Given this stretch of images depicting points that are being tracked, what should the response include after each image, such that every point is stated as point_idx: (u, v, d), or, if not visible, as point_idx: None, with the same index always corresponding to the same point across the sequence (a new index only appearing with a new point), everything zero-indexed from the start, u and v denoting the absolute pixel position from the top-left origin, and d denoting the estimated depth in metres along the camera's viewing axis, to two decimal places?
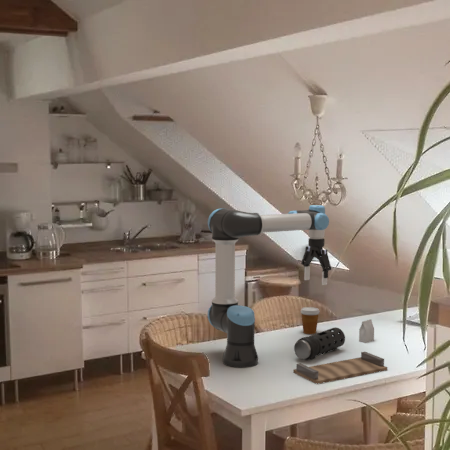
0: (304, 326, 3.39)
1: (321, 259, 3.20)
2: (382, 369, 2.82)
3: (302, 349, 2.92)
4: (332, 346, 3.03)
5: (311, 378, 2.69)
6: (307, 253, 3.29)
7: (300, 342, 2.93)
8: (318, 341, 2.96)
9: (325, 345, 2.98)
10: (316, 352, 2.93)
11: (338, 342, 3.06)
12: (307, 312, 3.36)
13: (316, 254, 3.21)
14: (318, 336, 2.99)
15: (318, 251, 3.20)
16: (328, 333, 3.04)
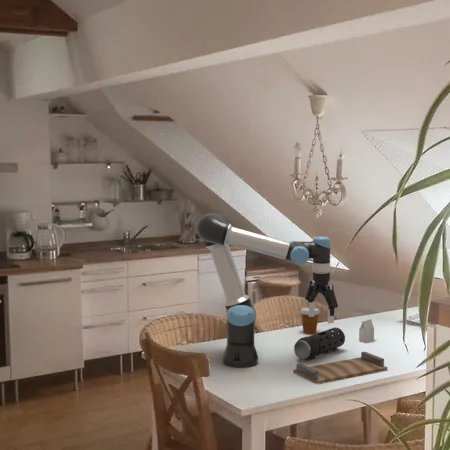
0: (304, 326, 3.39)
1: (327, 295, 2.96)
2: (382, 369, 2.82)
3: (302, 349, 2.92)
4: (332, 346, 3.03)
5: (311, 378, 2.69)
6: (311, 288, 3.06)
7: (300, 342, 2.93)
8: (318, 341, 2.96)
9: (325, 345, 2.98)
10: (316, 352, 2.93)
11: (338, 342, 3.06)
12: (307, 312, 3.36)
13: (321, 290, 2.97)
14: (318, 336, 2.99)
15: (323, 286, 2.97)
16: (328, 333, 3.04)
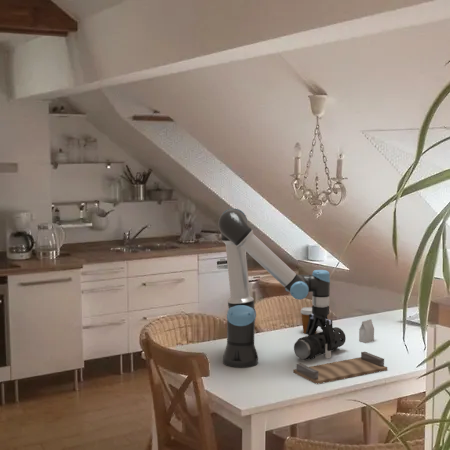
0: (304, 326, 3.39)
1: (325, 329, 2.98)
2: (382, 369, 2.82)
3: (302, 349, 2.92)
4: (332, 346, 3.03)
5: (311, 378, 2.69)
6: (311, 321, 3.07)
7: (300, 342, 2.93)
8: (318, 341, 2.96)
9: None
10: (316, 352, 2.93)
11: (338, 342, 3.06)
12: (307, 312, 3.36)
13: (320, 323, 2.99)
14: (318, 336, 2.99)
15: (322, 320, 2.99)
16: None
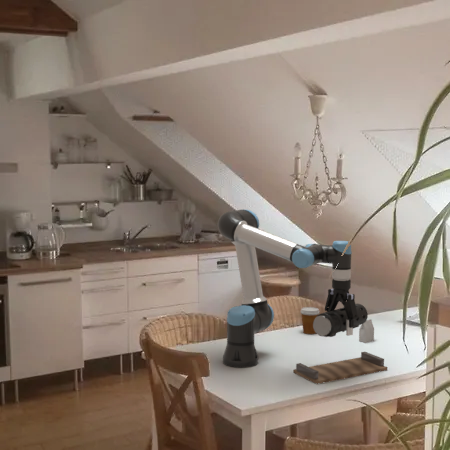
0: (304, 326, 3.39)
1: (346, 305, 2.76)
2: (382, 369, 2.82)
3: (322, 325, 2.70)
4: (354, 323, 2.81)
5: (311, 378, 2.69)
6: (330, 297, 2.85)
7: (319, 318, 2.71)
8: (339, 317, 2.74)
9: (346, 321, 2.76)
10: (337, 328, 2.71)
11: (360, 319, 2.84)
12: (307, 312, 3.36)
13: (341, 298, 2.77)
14: (339, 312, 2.77)
15: (344, 294, 2.77)
16: None
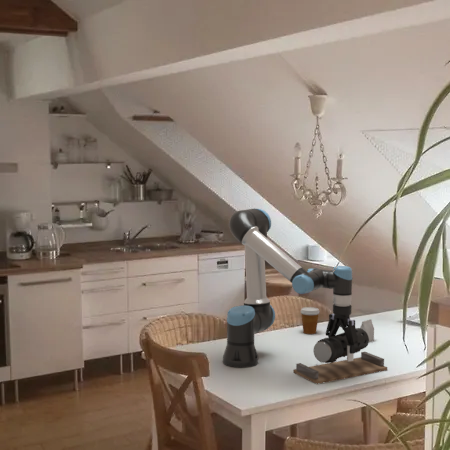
0: (304, 326, 3.39)
1: (347, 330, 2.76)
2: (382, 369, 2.82)
3: (322, 352, 2.70)
4: (355, 348, 2.80)
5: (311, 378, 2.69)
6: (331, 322, 2.84)
7: (320, 344, 2.70)
8: (339, 343, 2.73)
9: None
10: (337, 355, 2.71)
11: (361, 344, 2.83)
12: (307, 312, 3.36)
13: (342, 324, 2.77)
14: (339, 337, 2.76)
15: (344, 320, 2.76)
16: None
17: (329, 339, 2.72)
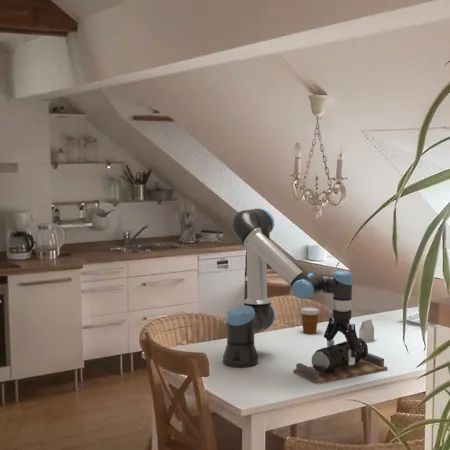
0: (304, 326, 3.39)
1: (348, 335, 2.76)
2: (382, 369, 2.82)
3: (320, 361, 2.71)
4: None
5: (311, 378, 2.69)
6: (331, 325, 2.85)
7: (318, 353, 2.71)
8: (337, 352, 2.74)
9: (345, 357, 2.76)
10: (335, 364, 2.71)
11: (360, 353, 2.84)
12: (307, 312, 3.36)
13: (342, 328, 2.77)
14: (337, 347, 2.77)
15: (344, 325, 2.76)
16: None
17: (327, 349, 2.73)
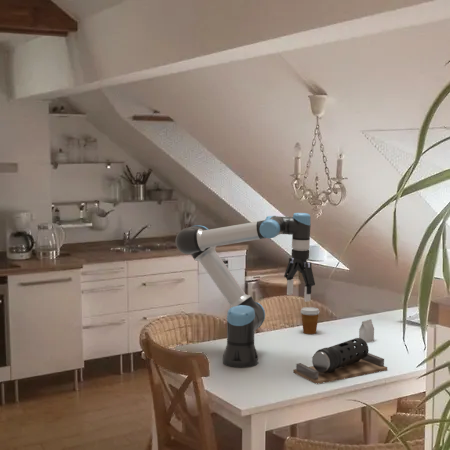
0: (304, 326, 3.39)
1: (304, 273, 2.90)
2: (382, 369, 2.82)
3: (320, 362, 2.71)
4: (354, 358, 2.81)
5: (311, 378, 2.69)
6: (290, 265, 2.99)
7: (318, 354, 2.71)
8: (338, 353, 2.74)
9: (346, 357, 2.76)
10: (336, 365, 2.71)
11: (361, 354, 2.84)
12: (307, 312, 3.36)
13: (299, 267, 2.91)
14: (339, 347, 2.77)
15: (301, 264, 2.91)
16: (350, 344, 2.82)
17: (328, 349, 2.73)
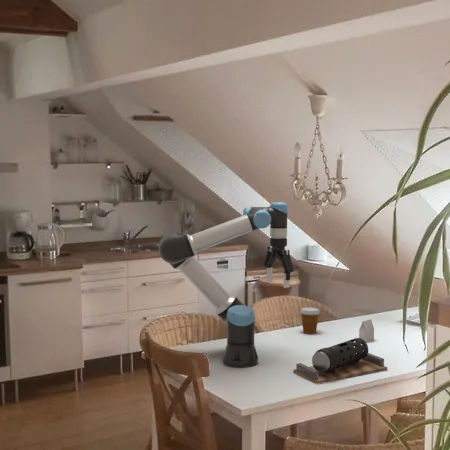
0: (304, 326, 3.39)
1: (283, 260, 2.99)
2: (382, 369, 2.82)
3: (320, 362, 2.71)
4: (354, 358, 2.81)
5: (311, 378, 2.69)
6: (269, 253, 3.08)
7: (318, 354, 2.71)
8: (338, 353, 2.74)
9: (346, 357, 2.76)
10: (336, 365, 2.71)
11: (360, 354, 2.84)
12: (307, 312, 3.36)
13: (278, 254, 3.00)
14: (338, 347, 2.77)
15: (280, 251, 3.00)
16: (349, 344, 2.82)
17: (328, 349, 2.73)
